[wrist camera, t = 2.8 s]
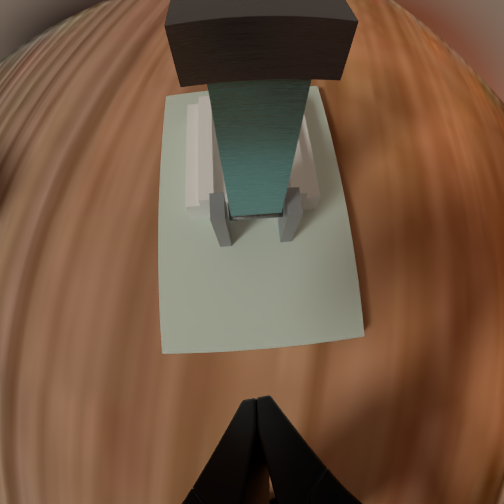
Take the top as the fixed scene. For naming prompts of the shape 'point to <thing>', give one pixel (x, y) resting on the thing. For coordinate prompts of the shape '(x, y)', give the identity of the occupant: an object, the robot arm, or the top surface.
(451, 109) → the top surface
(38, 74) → the top surface
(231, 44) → the lever
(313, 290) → the heatsink board
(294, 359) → the top surface
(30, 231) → the top surface
